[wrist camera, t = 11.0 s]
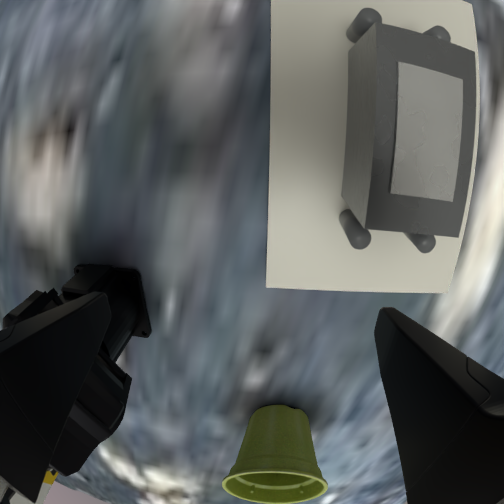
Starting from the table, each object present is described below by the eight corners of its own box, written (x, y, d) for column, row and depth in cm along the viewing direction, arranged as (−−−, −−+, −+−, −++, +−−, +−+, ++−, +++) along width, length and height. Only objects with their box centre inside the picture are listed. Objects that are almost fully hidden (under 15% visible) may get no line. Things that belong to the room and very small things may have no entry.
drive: (414, 203, 17) (460, 238, 12) (341, 195, 18) (364, 230, 12) (424, 66, 14) (476, 51, 8) (348, 51, 14) (376, 21, 9)
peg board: (442, 286, 21) (466, 319, 17) (266, 280, 22) (261, 317, 18) (465, 7, 12) (497, -8, 8) (271, -31, 13) (267, -64, 9)
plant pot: (334, 430, 29) (338, 497, 21) (257, 445, 31) (249, 507, 24) (308, 383, 26) (309, 464, 18) (219, 403, 28) (201, 474, 20)
